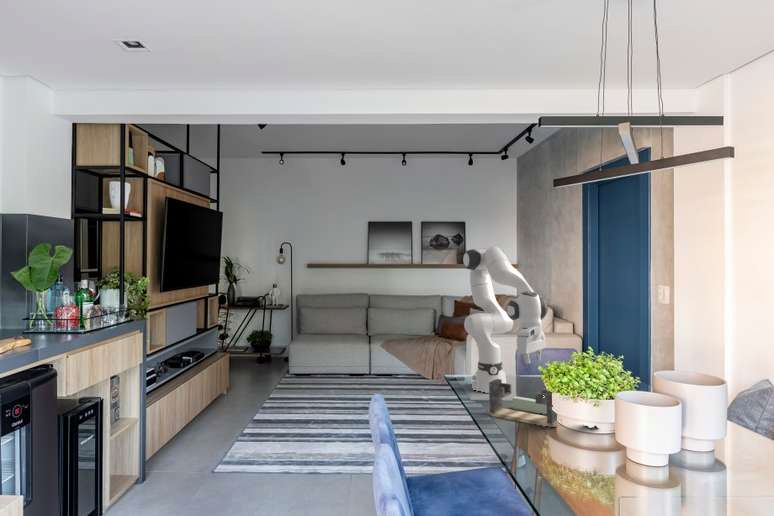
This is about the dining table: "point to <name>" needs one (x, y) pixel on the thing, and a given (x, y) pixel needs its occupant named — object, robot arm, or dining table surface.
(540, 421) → the rail stand
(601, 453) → the dining table surface
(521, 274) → the robot arm
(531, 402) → the rail
